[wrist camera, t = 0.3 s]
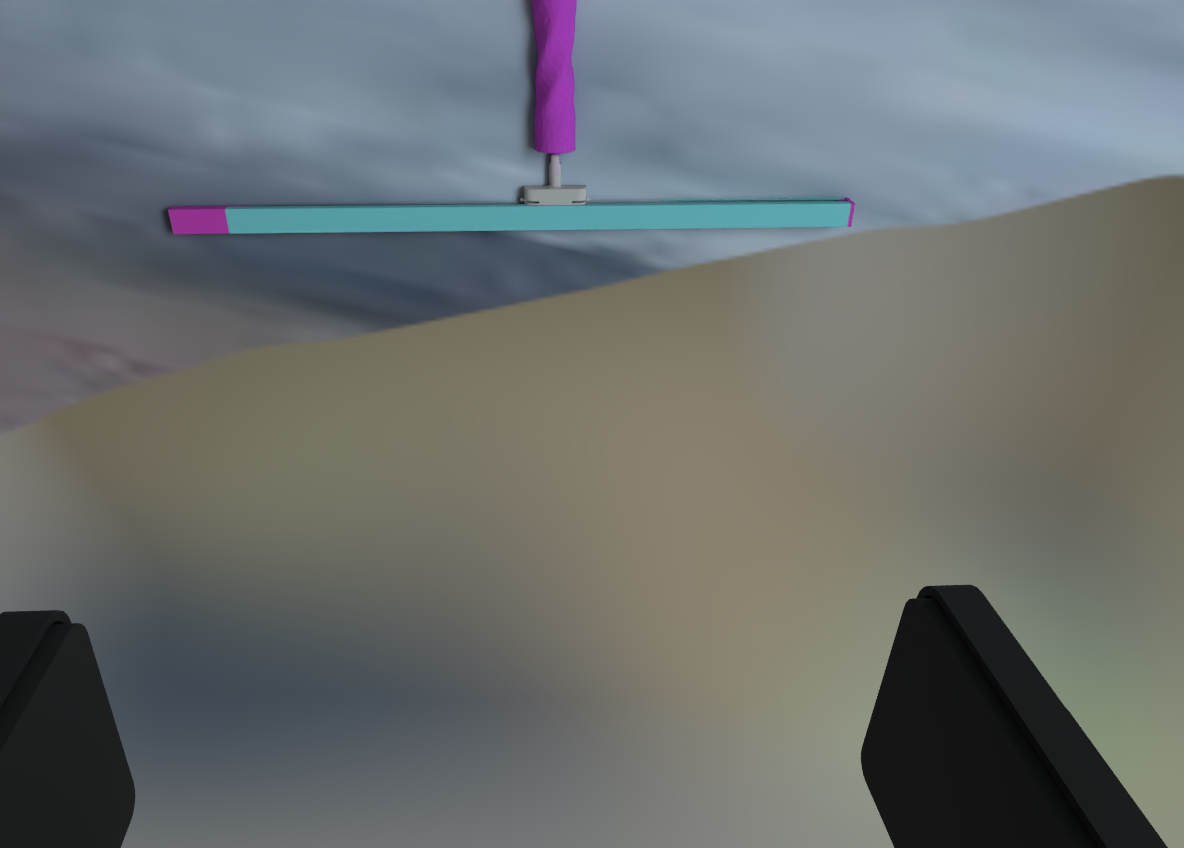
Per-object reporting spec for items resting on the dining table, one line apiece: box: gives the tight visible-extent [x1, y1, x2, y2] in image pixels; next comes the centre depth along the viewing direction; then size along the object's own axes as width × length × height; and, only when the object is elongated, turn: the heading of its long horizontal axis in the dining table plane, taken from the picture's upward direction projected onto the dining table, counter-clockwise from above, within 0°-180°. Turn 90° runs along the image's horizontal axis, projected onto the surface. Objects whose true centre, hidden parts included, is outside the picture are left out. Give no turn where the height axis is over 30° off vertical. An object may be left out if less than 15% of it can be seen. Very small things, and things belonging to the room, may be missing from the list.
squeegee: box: [168, 0, 855, 234], centre depth 36 cm, size 29×2×10 cm
